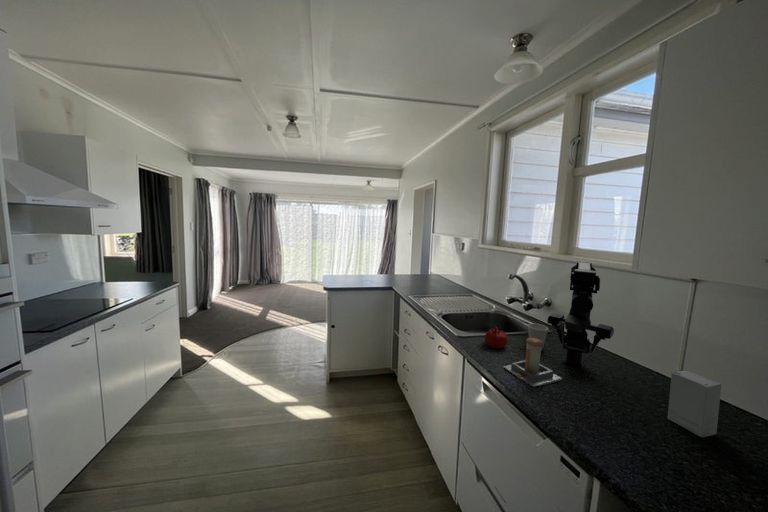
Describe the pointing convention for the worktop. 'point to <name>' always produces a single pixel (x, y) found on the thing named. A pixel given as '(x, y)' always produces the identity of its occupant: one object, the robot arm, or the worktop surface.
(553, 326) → the robot arm
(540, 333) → the dixie cup
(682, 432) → the worktop surface
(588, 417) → the worktop surface
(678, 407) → the skincare box
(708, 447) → the worktop surface
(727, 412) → the worktop surface
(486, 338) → the pomegranate
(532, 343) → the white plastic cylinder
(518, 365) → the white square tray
